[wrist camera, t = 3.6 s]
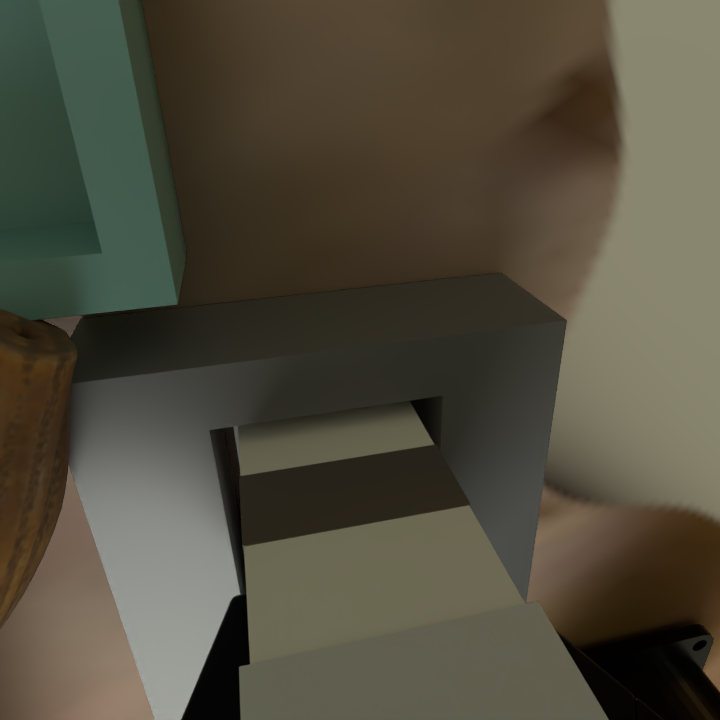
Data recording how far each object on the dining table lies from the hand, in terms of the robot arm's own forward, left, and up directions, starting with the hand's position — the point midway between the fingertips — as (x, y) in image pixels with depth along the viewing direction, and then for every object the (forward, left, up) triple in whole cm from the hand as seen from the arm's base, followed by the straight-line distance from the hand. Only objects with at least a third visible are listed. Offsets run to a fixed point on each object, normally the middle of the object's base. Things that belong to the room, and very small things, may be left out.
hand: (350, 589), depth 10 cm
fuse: (0, 0, -4) cm, 4 cm away
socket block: (0, 0, -4) cm, 4 cm away
